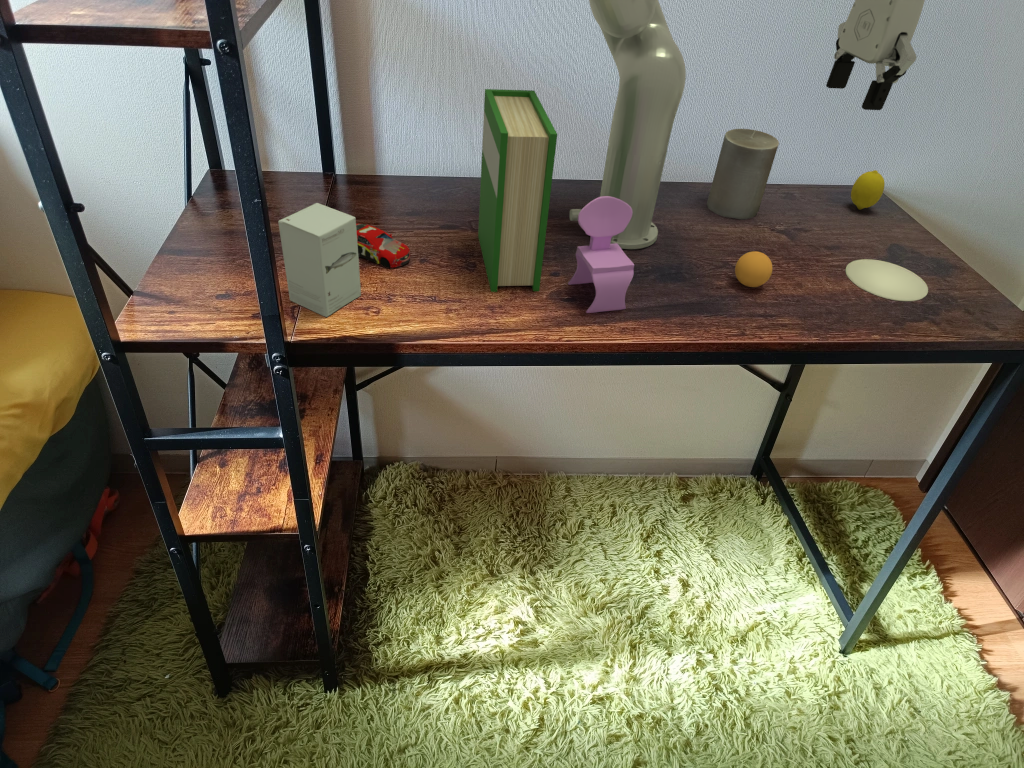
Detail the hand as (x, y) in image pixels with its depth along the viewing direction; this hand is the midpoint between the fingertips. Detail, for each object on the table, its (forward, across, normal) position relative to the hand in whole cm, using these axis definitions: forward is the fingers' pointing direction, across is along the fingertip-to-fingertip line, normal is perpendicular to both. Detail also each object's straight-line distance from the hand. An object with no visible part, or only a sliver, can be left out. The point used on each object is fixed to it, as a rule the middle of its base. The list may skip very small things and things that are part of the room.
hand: (852, 98), depth 106 cm
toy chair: (+27, +12, -40) cm, 50 cm away
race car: (+28, -4, -73) cm, 78 cm away
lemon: (+26, -14, +22) cm, 37 cm away
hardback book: (+27, +1, -52) cm, 59 cm away
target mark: (+26, +12, +11) cm, 30 cm away
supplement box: (+28, +9, -80) cm, 85 cm away
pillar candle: (+26, -16, -4) cm, 31 cm away
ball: (+23, +11, -14) cm, 29 cm away
